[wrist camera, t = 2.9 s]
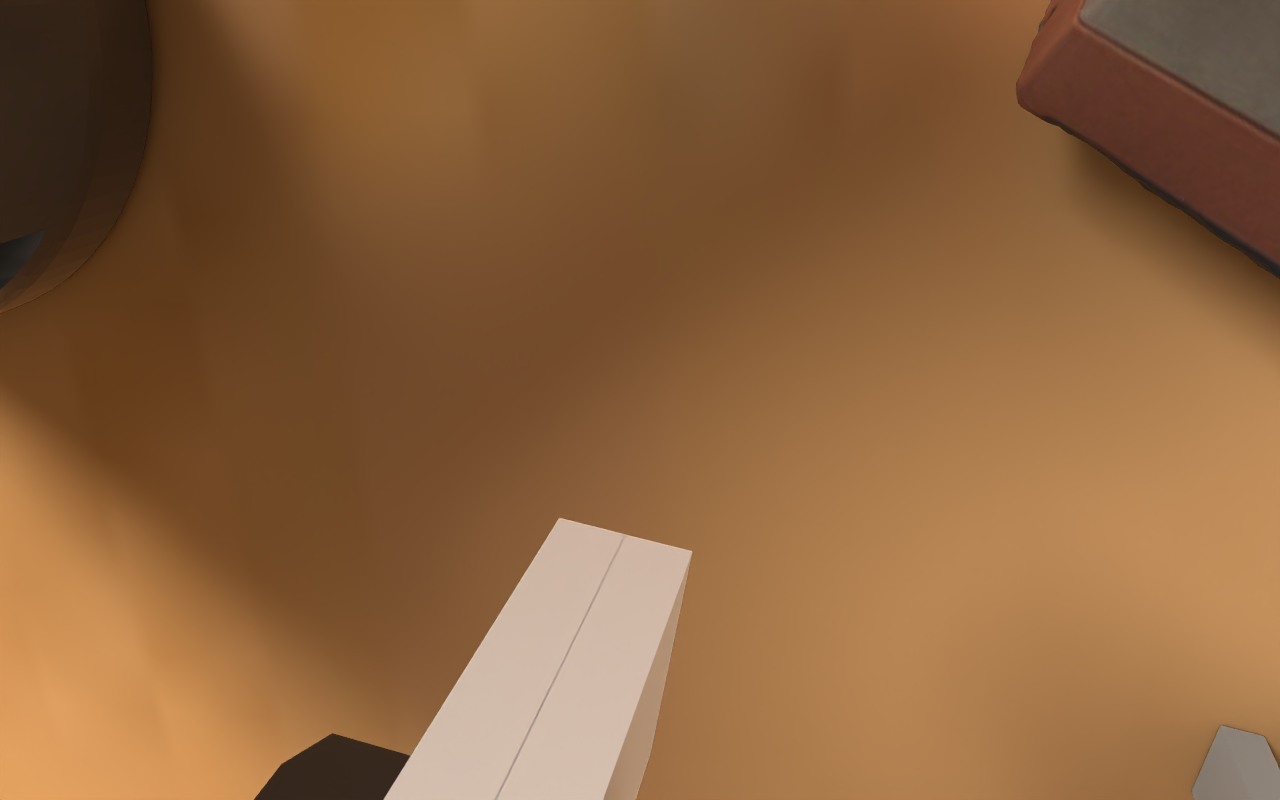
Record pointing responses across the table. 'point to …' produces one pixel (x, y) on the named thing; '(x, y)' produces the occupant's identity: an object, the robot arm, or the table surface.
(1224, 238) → the electronic device
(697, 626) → the table surface
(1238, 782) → the walled box
